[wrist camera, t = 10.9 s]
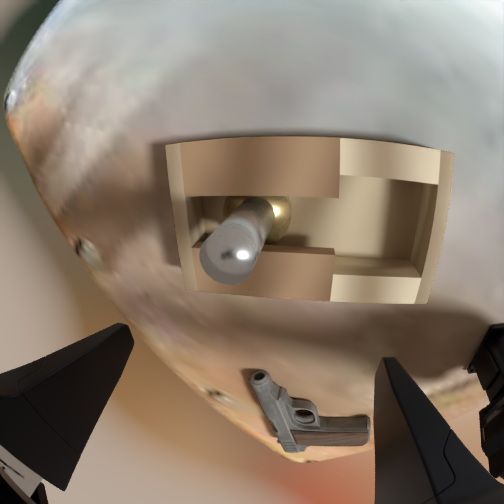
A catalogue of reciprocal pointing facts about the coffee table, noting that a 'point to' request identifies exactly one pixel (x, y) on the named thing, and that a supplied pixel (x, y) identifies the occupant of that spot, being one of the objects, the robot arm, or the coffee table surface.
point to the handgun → (305, 420)
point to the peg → (244, 236)
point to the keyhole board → (319, 214)
